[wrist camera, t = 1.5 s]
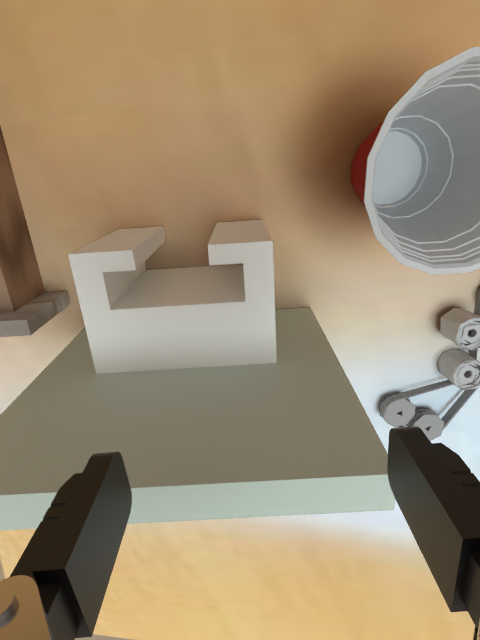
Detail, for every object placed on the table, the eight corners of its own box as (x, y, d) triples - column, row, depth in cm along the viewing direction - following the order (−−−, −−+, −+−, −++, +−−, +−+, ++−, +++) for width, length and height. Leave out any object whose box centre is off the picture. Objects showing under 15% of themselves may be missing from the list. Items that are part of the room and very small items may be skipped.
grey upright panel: (70, 232, 31) (-173, 323, 13) (310, 216, 31) (419, 286, 12) (95, 340, 35) (-65, 533, 16) (310, 327, 35) (393, 509, 16)
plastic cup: (330, 255, 32) (379, 300, 21) (306, 117, 28) (351, 83, 17) (459, 221, 31) (582, 250, 20) (453, 74, 27) (601, 8, 16)
